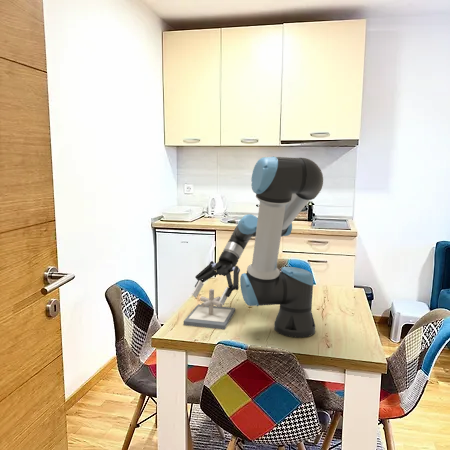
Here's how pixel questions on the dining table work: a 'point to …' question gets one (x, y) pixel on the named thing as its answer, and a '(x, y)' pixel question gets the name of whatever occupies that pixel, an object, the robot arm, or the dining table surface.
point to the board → (210, 317)
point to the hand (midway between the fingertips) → (207, 299)
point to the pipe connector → (210, 301)
